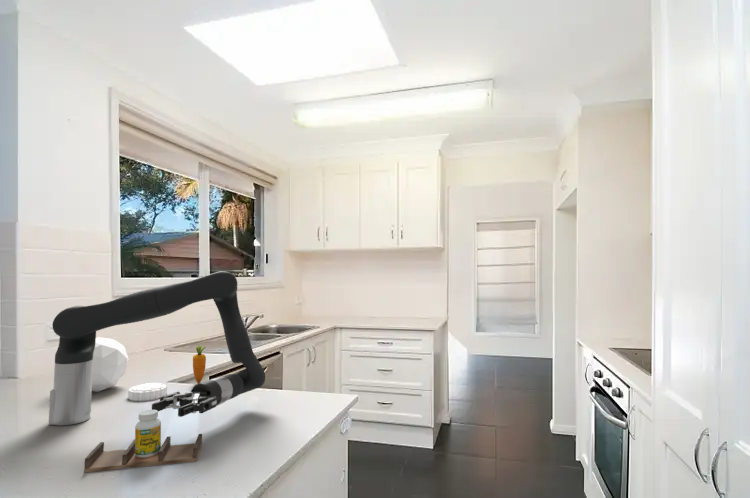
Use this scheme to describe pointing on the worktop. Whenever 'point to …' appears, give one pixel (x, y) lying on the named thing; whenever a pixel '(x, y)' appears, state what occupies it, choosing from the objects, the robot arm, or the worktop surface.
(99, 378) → the ball
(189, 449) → the slot rack
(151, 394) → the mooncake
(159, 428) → the supplement bottle
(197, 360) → the carrot
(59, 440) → the worktop surface
